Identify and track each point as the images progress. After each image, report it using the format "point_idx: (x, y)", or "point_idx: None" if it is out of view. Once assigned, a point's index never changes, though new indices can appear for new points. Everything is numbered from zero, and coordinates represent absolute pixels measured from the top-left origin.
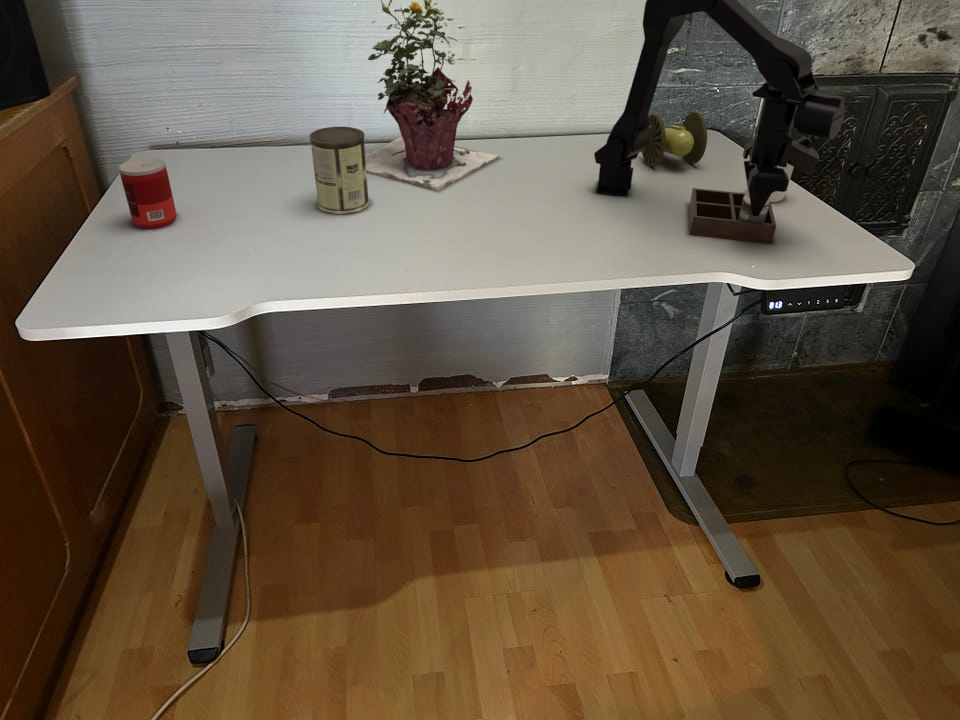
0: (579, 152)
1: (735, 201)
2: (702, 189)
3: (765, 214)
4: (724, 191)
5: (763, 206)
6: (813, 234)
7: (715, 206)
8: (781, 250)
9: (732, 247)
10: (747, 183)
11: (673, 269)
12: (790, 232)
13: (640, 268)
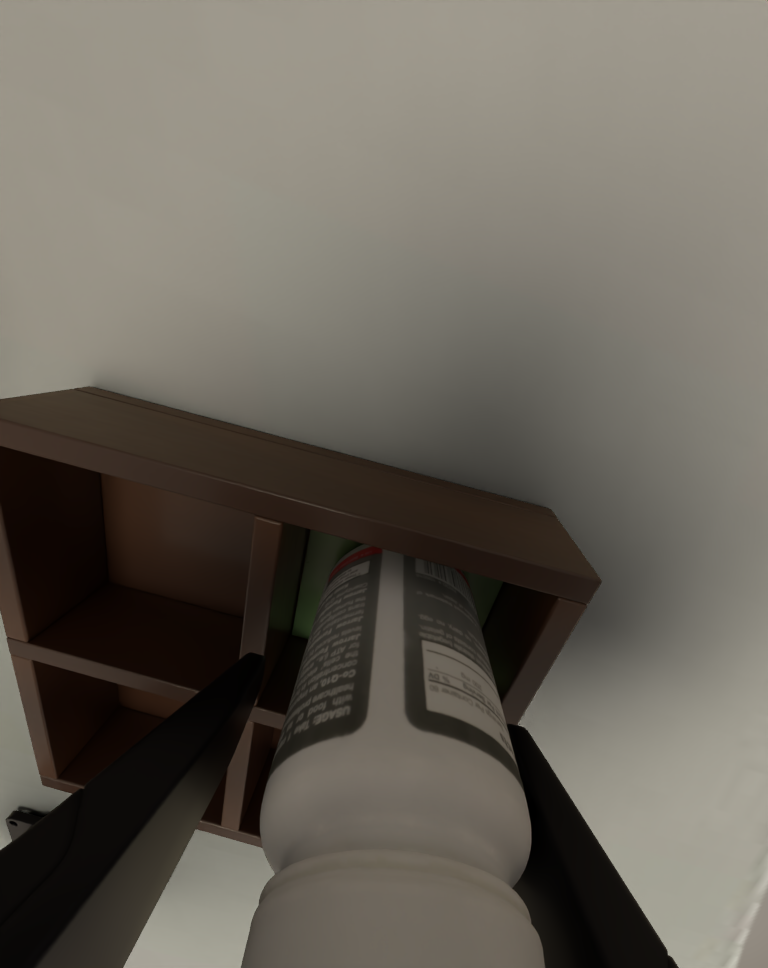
0: None
1: (75, 585)
2: (41, 757)
3: (476, 656)
4: (20, 675)
5: (609, 861)
6: (418, 109)
7: (251, 765)
8: (653, 484)
9: (563, 694)
10: (131, 944)
11: (706, 900)
12: (384, 316)
13: (667, 951)
